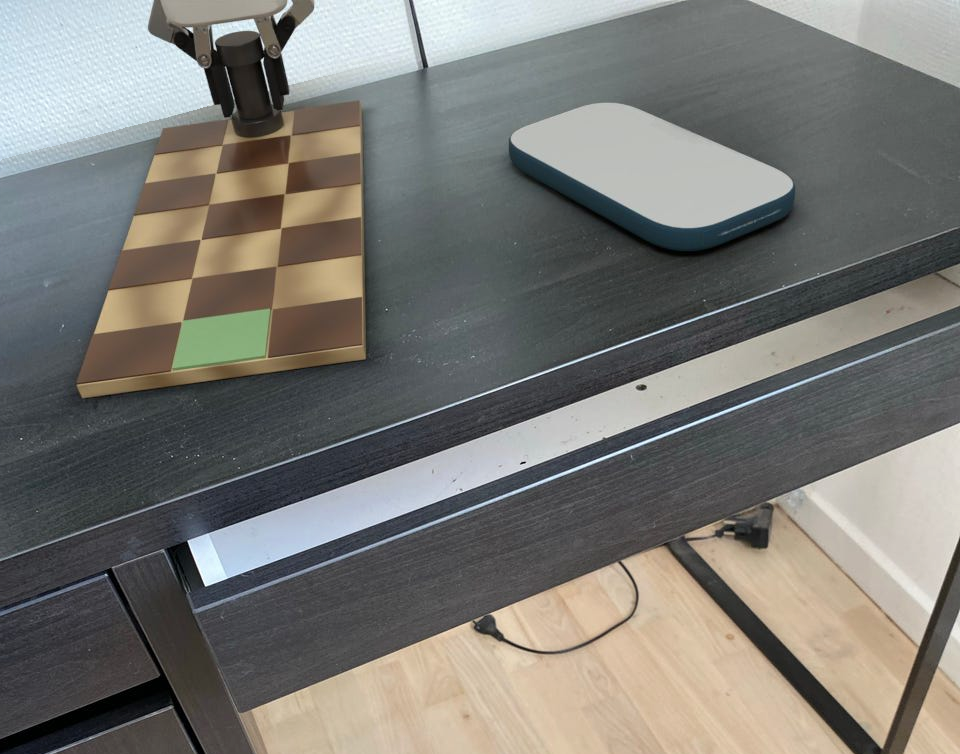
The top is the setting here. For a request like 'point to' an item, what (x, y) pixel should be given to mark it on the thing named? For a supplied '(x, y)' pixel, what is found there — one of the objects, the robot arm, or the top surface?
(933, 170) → the top surface
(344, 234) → the chessboard
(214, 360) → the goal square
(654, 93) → the top surface
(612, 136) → the external hard drive
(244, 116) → the rook
